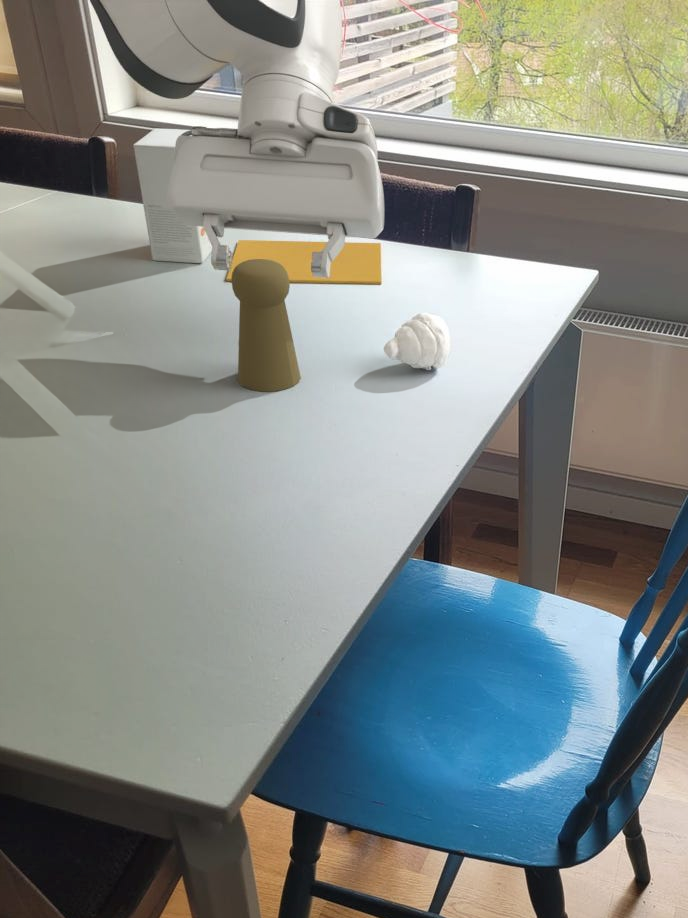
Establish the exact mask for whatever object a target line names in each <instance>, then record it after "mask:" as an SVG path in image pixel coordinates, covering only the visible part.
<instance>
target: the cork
mask: <svg viewBox="0 0 688 918" xmlns="http://www.w3.org/2000/svg"><path fill="white" fill-rule="evenodd" d="M231 280H232V281H231V288H232V291H233V294H234V296H235V297H236V298H237V300H238V301H239V318H238V319H239V322H238V358H237V362H238V363H237V380H238V383H239V384H240V385H241V386H242V387H244V388H246V389H248V390H252V391H256V392H265V393H266V392H279V391H283V390H287V389H291V388H293V387H295V386H296V385H297V384H299V383H300V381H301V380H302V376H301V372H300V367H299V362H298V358H297V353H296V348H295V343H294V339H293V334H292V329H291V324H290V320H289V315H288V309H287V305H286V301H285V300H286V298H287V296H288V295H289V292H290V289H291V288H290V287H291V286H290V282H289V277H288V274H287V271H286V270H285V268H284V267H283V266H282V265H281V264H279V263H277V262H275V261H272V260H266V259H253V260H247V261H244V262H242V263H240V264H238V265H237V266H236V267H235V268H234V270H233V272H232V278H231Z"/></svg>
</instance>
